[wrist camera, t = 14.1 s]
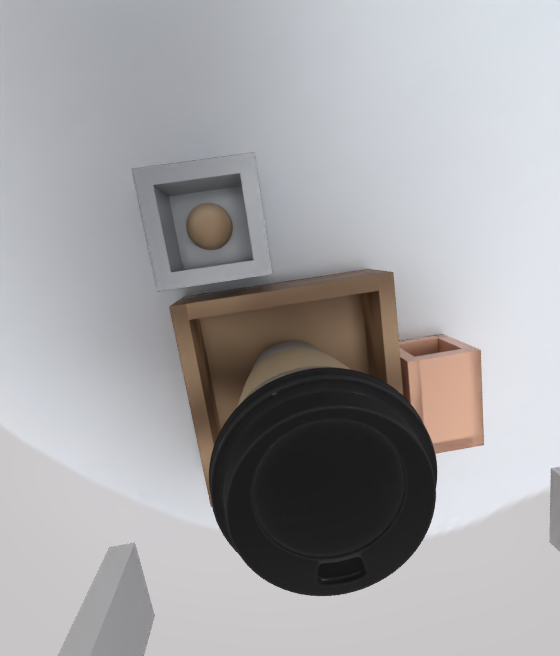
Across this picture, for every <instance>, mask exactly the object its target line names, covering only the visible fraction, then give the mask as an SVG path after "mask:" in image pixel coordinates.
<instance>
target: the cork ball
mask: <svg viewBox="0 0 560 656" xmlns="http://www.w3.org/2000/svg"><path fill="white" fill-rule="evenodd" d="M186 228H187V233H188V236H189V237H190V239H191V240H192V242H193V243H194V244H195V245H197V246H198V247H200V248H202V249H205V250H216V249H219V248H221V247H223V246H224V245H225V244H226V243H227V242H228V241H229V239H230V237H231V235H232V230H233V225H232V220H231V217H230V216H229V214H228V212H227V211H226V210H225V209H224V208H222V207H221V206H219V205H217V204H214V203H203V204H200V205H198V206H196V207H195V208H194V209H193V210H192V211H191V212H190V214H189V215H188V218H187V222H186Z"/></svg>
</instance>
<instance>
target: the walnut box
mask: <svg viewBox="0 0 560 656" xmlns="http://www.w3.org/2000/svg"><path fill="white" fill-rule="evenodd" d="M169 307H170V312H171V317H172V322H173V327H174V331H175V336H176V341H177V346H178V351H179V355H180V360H181V365H182V370H183V375H184V380H185V384H186V389H187V394H188V399H189V404H190V408H191V413H192V418H193V423H194V428H195V432H196V437H197V442H198V447H199V452H200V456H201V461H202V466H203V471H204V476H205V480H206V485H207V490H208V495H209V500H210V505H211V507H212V503H211V494H210V488H209V466H210V459H211V454H212V451H213V447H214V444H215V442H216V439H217V437H218V435H219V433H220V431H221V429H222V427H223V425H224V424H225V422H226V421H227V419H228V418H229V416H230V415H231V414H232V413H233V411H234V410H235V409H236V408H237V406H238V403H239V400H240V397H241V394H242V391H243V388H244V386H245V383H246V381H247V379H248V377H249V375H250V373H251V372H252V369H253V366H254V364H255V362H256V360H257V358H258V356H259V355H260V354H261V353H262V352H263V351H264V350H265V349H267V348H268V347H270V346H272V345H274V344H276V343H279V342H283V341H290V340H295V341H302V342H306V343H309V344H311V345H313V346H314V347H316V348H317V349H318V350H320V351H323V352H325V353H327V354H329V355H331V356H332V357H334V358H335V359H337V360H338V361H339V362H341V363H342V364H344V365H345V366H347V367H348V368H349V369H351V370H355V371H359V372H363V373H366V374H369V375H371V376H373V377H376V378H378V379H380V380H382V381H384V382H385V383H387V384H389V385H390V386H392V387H393V388H395V389H396V390H397V391H398V392H399V393H401V394H402V395H403V387H402V375H401V362H400V350H399V338H398V325H397V313H396V301H395V288H394V276H393V272H387V271H379V270H372V269H366V270H359V271H353V272H346V273H340V274H333V275H326V276H320V277H313V278H307V279H300V280H293V281H287V282H280V283H274V284H267V285H261V286H254V287H247V288H241V289H234V290H228V291H221V292H214V293H208V294H201V295H195V296H188V297H183V298H182V299H180V300H179V301H177V302H176V303H174V304H173V305H171V306H169Z"/></svg>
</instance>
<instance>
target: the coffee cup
mask: <svg viewBox="0 0 560 656" xmlns="http://www.w3.org/2000/svg"><path fill="white" fill-rule="evenodd" d="M436 483H437V461H436V455H435V450H434V447H433V443H432V440H431V438H430V435H429V433H428V431H427V429H426V427H425V426H424V424H423V422H422V420H421V418H420V416H419V415H418V413H417V411H416V410H415V409H414V407H413V406H412V405H411V403H410V402H409V401H408V400H407V399H406V398H405V397H404V396H403V395H402V394H401V393H399V392H398V391H397V390H396V389H395V388H393V387H392V386H390V385H389V384H387V383H385V382H384V381H382V380H380V379H378V378H376V377H373V376H371V375H369V374H366V373H363V372H359V371H355V370H351V369H349V368H348V367H347V366H345V365H344V364H342V363H341V362H339V361H338V360H337V359H335V358H334V357H332V356H331V355H329V354H327V353H325V352H323V351H320V350H318V349H317V348H316V347H314V346H313V345H311V344H309V343H306V342H302V341H295V340H290V341H283V342H279V343H276V344H274V345H272V346H270V347H268V348H267V349H265V350H264V351H263V352H262V353H261V354H260V355H259V356H258V358H257V360H256V362H255V364H254V366H253V369H252V372H251V373H250V375H249V377H248V379H247V381H246V383H245V386H244V388H243V391H242V394H241V397H240V400H239V403H238V406H237V408H236V409H235V410H234V411H233V413H232V414H231V415H230V416H229V418H228V419H227V421H226V422H225V424H224V425H223V427H222V429H221V431H220V433H219V435H218V437H217V439H216V442H215V444H214V447H213V451H212V454H211V459H210V466H209V488H210V494H211V503H212V507H213V512H214V515H215V518H216V521H217V523H218V525H219V528H220V529H221V531H222V533H223V535H224V536H225V538H226V539H227V541H228V542H229V544H230V545H231V546H232V547H233V548H234V550H235V551H236V552H237V553H238V554H239V555H240V556H241V557H242V559H243V560H244V561H245V563H246V564H247V565H248V566H249V567H250V568H251V569H252V570H253V571H254V572H255V573H256V574H258V575H259V576H260V577H262V578H263V579H265V580H266V581H268V582H269V583H271V584H273V585H275V586H277V587H280V588H282V589H284V590H288V591H291V592H294V593H298V594H304V595H311V596H332V595H340V594H346V593H350V592H354V591H357V590H360V589H363V588H366V587H369V586H371V585H373V584H375V583H377V582H379V581H381V580H382V579H384V578H386V577H387V576H389V575H390V574H391V573H393V572H395V571H396V570H397V569H398V568H399V567H401V566H402V565H403V564H404V563H405V562H406V561H407V560H408V559H409V558H410V557H411V556H412V554H413V553H414V552H415V551H416V549H417V548H418V547H419V545H420V544H421V542H422V540H423V539H424V537H425V535H426V533H427V531H428V528H429V526H430V523H431V520H432V517H433V513H434V509H435V501H436Z"/></svg>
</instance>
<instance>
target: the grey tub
mask: <svg viewBox="0 0 560 656" xmlns="http://www.w3.org/2000/svg"><path fill="white" fill-rule="evenodd" d="M132 173H133V178H134V183H135V188H136V192H137V197H138V202H139V206H140V211H141V216H142V220H143V225H144V230H145V235H146V239H147V244H148V249H149V253H150V258H151V263H152V267H153V272H154V277H155V282H156V286H157V291H165V290H171V289H178V288H185V287H191V286H198V285H205V284H211V283H218V282H224V281H231V280H238V279H244V278H251V277H258V276H264V275H271V274H272V268H271V261H270V254H269V247H268V241H267V234H266V227H265V220H264V213H263V207H262V200H261V193H260V186H259V180H258V173H257V166H256V159H255V152H252V153H245V154H238V155H230V156H223V157H215V158H208V159H201V160H193V161H186V162H178V163H171V164H163V165H156V166H149V167H141V168H134V169H132ZM203 203H214V204H217V205H219V206H221V207H222V208H224V209H225V210H226V211H227V212H228V214H229V216H230V217H231V220H232V225H233V230H232V235H231V237H230V239H229V241H228V242H227V243H226V244H225V245H224V246H223V247H221V248H219V249H216V250H205V249H202V248H200V247H198V246H197V245H195V244H194V243H193V242H192V240H191V239H190V237H189V236H188V233H187V228H186V222H187V218H188V215H189V214H190V212H191V211H192V210H193V209H194V208H195V207H196V206H198V205H200V204H203Z"/></svg>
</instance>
